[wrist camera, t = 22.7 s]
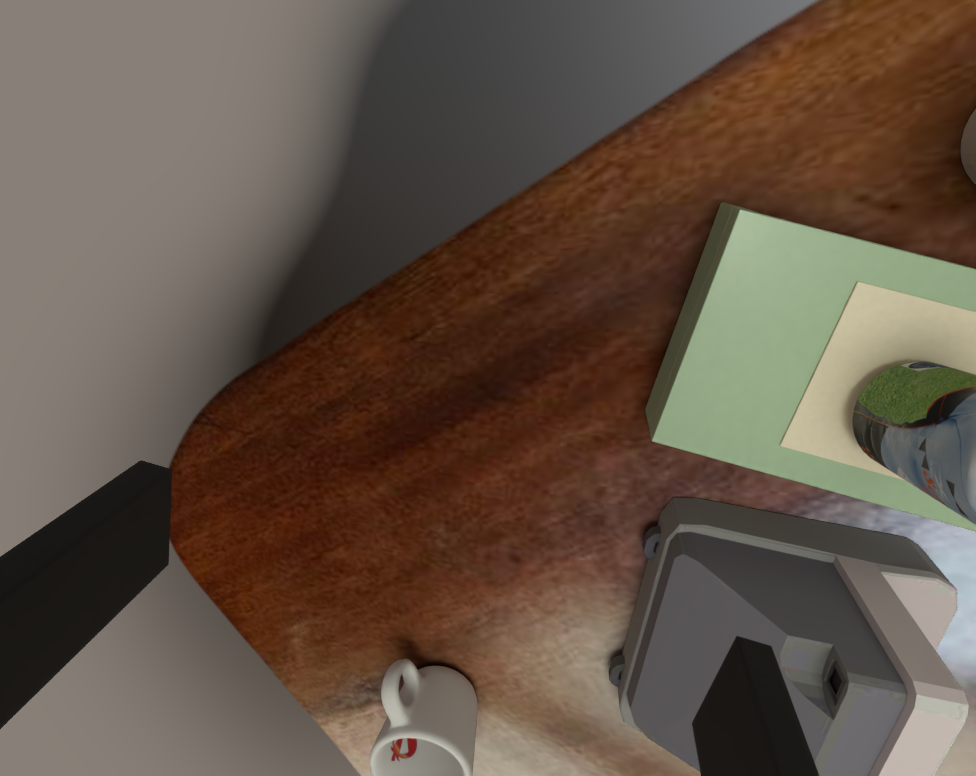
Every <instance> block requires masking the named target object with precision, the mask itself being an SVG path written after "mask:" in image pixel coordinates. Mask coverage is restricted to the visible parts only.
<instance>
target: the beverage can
mask: <svg viewBox="0 0 976 776" xmlns="http://www.w3.org/2000/svg"><path fill="white" fill-rule="evenodd" d="M852 424H853V431H854V436H855V438H856V440H857V443H858V445H859V446H860V447H861V449H862V450H863V452H864V453H865V454H867V455H868V456H869V457H870V458H871V459H873V460H874V461H876V462H877V463H879V464H880V465H882V466H884V467H885V468H887V469H888V470H890V471H891V472H893V473H895V474H896V475H898V476H899V477H901V478H902V479H904V480H906V481H907V482H909V483H910V484H912V485H913V486H915V487H917V488H918V489H920V490H921V491H923V492H924V493H926V494H928V495H929V496H931V497H932V498H934V499H935V500H937V501H939V502H940V503H942V504H943V505H945V506H946V507H948V508H950V509H951V510H953V511H954V512H956V513H958V514H959V515H961V516H962V517H964V518H965V519H967V520H969V521H970V522H972V523H973V524H975V525H976V375H975V374H972V373H968V372H965V371H961V370H958V369H954V368H951V367H948V366H944V365H941V364H937V363H933V362H928V361H912V362H905V363H901V364H898V365H895V366H892V367H890V368H888V369H886V370H884V371H883V372H881V373H880V374H878V375H877V376H875V377H874V378H873V379H872V380H871V381H870V382H869V383H868V384H867V385H866V387H865V388H864V389H863V390H862V392H861V394H860V395H859V397H858V399H857V401H856V404H855V407H854V411H853V417H852Z"/></svg>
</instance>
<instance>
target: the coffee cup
mask: <svg viewBox="0 0 976 776" xmlns="http://www.w3.org/2000/svg"><path fill="white" fill-rule="evenodd" d="M960 154H961V161H962V165H963V167H964V170H965V172H966V174H967V175H968V177H969V178H970V179H971V181H972V182H973V183H975V184H976V109H975V110H974V112H973V113H972V114H971V116H970V118H969V120H968V122H967V124H966V126H965V128H964V131H963V135H962V139H961V149H960Z"/></svg>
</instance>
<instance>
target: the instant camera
mask: <svg viewBox="0 0 976 776" xmlns="http://www.w3.org/2000/svg"><path fill="white" fill-rule="evenodd" d="M642 545H643V551H644V554H645V556H646V557H647V558H648V561H647V565H646V569H645V572H644V576H643V580H642V583H641V587H640V590H639V594H638V598H637V601H636V605H635V609H634V612H633V616H632V620H631V623H630V627H629V631H628V634H627V638H626V642H625V645H624V649H623V652H622V656H617V657H615V658H614V659H613V660H612V661H611V664H610V668H609V679H610V681H611V683H612V684H613V685H615V686H617V687H618V693H619V707H620V711H621V715H622V719H623V721H624V722H625V723H627V724H629V725H630V726H632V727H634V728H635V729H637V730H638V731H640V732H643V733H644V734H645V735H646V736H647V737H648V738H649V739H650V740H652V741H653V742H655V743H656V744H658V745H659V746H661V747H663V748H664V749H666V750H667V751H669V752H670V753H672V754H673V755H675V756H677V757H678V758H680V759H681V760H683V761H684V762H686V763H687V764H689V765H690V766H692V767H694V768H695V769H697V770H698V771H700V767H699V761H698V756H697V750H696V744H695V739H694V733H693V728H692V722H693V720H694V718H695V716H696V714H697V712H698V710H699V708H700V706H701V704H702V702H703V700H704V698H705V696H706V694H707V692H708V690H709V688H710V687H711V685H712V683H713V681H714V679H715V677H716V675H717V673H718V671H719V669H720V667H721V665H722V663H723V661H724V659H725V657H726V655H727V653H728V651H729V649H730V648H731V646H732V644H733V642H734V640H735V638H736V636H739V637H743V638H746V639H750V640H753V641H756V642H760V643H763V644H767V645H770V646H772V649H773V652H774V654H775V657H776V660H777V662H778V665H779V668H780V670H781V673H782V676H783V679H784V681H785V684H786V687H787V689H788V692H789V695H790V697H791V700H792V703H793V706H794V708H795V711H796V714H797V716H798V719H799V722H800V725H801V727H802V730H803V733H804V735H805V738H806V741H807V743H808V746H809V749H810V752H811V754H812V757H813V760H814V762H815V765H816V768H817V770H818V773H819V776H934V775H935V773H936V771H937V769H938V768H939V766H940V764H941V762H942V761H943V759H944V757H945V756H946V754H947V752H948V750H949V749H950V747H951V745H952V743H953V742H954V740H955V738H956V737H957V735H958V733H959V731H960V730H961V728H962V726H963V724H964V723H965V721H966V719H967V714H968V707H969V704H968V702H967V699H966V696H965V693H964V691H963V689H962V688H961V686H960V685H959V684H958V682H957V681H956V679H955V678H954V676H953V675H952V674H951V672H950V671H949V669H948V668H947V666H946V665H945V663H944V662H943V661H942V659H941V658H940V656H939V655H938V653H937V652H936V649H937V647H938V645H939V643H940V641H941V639H942V637H943V636H944V634H945V632H946V630H947V628H948V626H949V624H950V622H951V620H952V618H953V616H954V615H955V613H956V611H957V589H956V588H955V587H954V586H953V585H952V584H951V583H950V582H949V580H948V579H947V578H946V577H945V576H944V574H943V573H942V572H941V571H940V570H939V568H938V567H937V566H936V565H935V564H934V563H933V561H932V560H931V559H930V558H929V557H928V555H927V554H926V553H925V552H924V551H923V549H922V548H921V547H920V546H919V545H918V544H916V543H914V542H913V541H911V540H910V539H908V538H906V537H901V536H896V535H891V534H885V533H880V532H875V531H869V530H864V529H859V528H853V527H848V526H843V525H838V524H832V523H827V522H822V521H816V520H811V519H806V518H800V517H795V516H790V515H784V514H779V513H774V512H768V511H763V510H758V509H752V508H747V507H742V506H737V505H731V504H726V503H721V502H715V501H710V500H705V499H699V498H673V499H672V500H671V501H670V502H669V503H668V504H667V506H666V507H665V508H664V509H663V510H662V511H661V514H660V517H659V521H658V525H657V526H655V527H652V528H650V529H649V530H648V531H647V532H646V533H645V537H644V541H643V544H642Z"/></svg>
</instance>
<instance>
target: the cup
mask: <svg viewBox="0 0 976 776" xmlns="http://www.w3.org/2000/svg"><path fill="white" fill-rule="evenodd" d="M401 674H402V676H403V680H404V685H403V686H402V688H401V690H400V692H399V681H400V677H401ZM381 697H382V703H383V706H384V709H385V711H386V713H387V715H388V717H387V719H386V721H385V723H384V725H383V727H382V729H381V731H380V733H379V735H378V737H377V739H376V741H375V743H374V745H373V748H372V750H371V754H370V769H371V772H372V775H373V776H472V774H473V761H474V749H475V737H476V724H477V710H478V706H477V697H476V693H475V690H474V688H473V686H472V685H471V683H470V682H469V681H468V680H467V679H466V678H465V677H464V676H463V675H462V674H460V673H459V672H457V671H455V670H453V669H451V668H448V667H443V666H428V667H424V668H421V669H419V670H417V668H416V666H415V665H414V664H413V663H412V662H411V661H410V660H408V659H401V660H398V661H395V662H394V663H393V664H391V666H390V667H389V668H388V670H387V672H386V674H385V676H384V679H383V682H382V688H381Z"/></svg>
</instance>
